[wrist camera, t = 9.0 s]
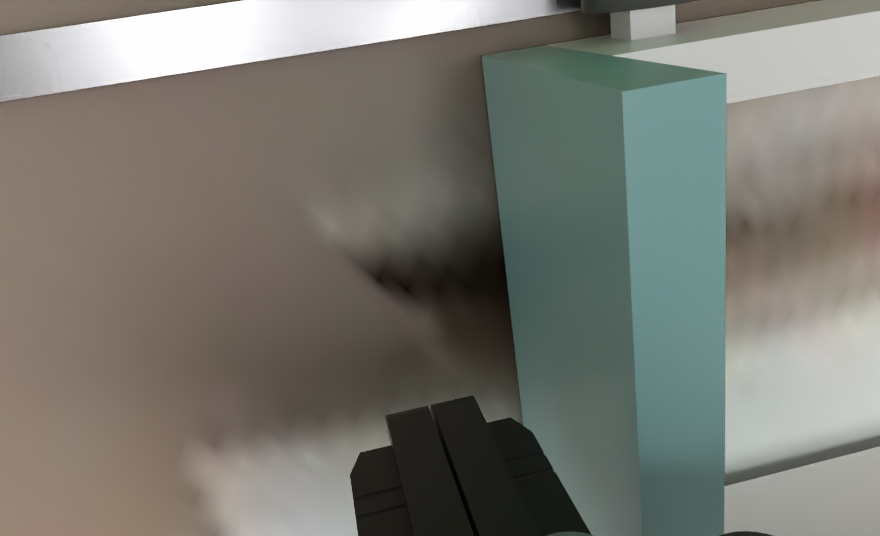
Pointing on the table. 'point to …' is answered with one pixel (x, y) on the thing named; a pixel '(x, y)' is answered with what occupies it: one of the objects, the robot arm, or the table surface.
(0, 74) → the rails
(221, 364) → the table surface
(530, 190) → the cart
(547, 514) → the robot arm
